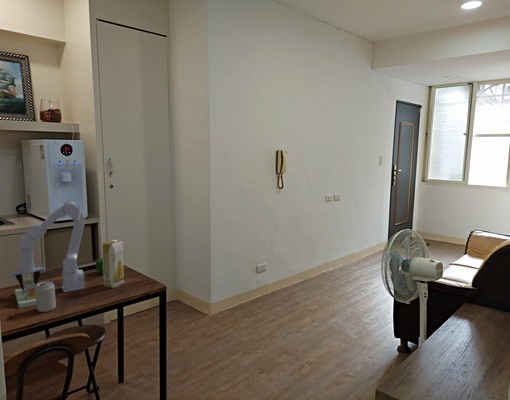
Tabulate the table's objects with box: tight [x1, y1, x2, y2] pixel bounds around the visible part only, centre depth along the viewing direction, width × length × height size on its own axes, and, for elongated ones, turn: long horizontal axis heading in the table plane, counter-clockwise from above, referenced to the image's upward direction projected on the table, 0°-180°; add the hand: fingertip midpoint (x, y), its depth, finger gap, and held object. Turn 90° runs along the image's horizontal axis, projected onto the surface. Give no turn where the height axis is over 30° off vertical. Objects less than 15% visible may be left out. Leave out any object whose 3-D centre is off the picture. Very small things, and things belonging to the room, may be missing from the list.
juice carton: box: [101, 239, 125, 289], centre depth 194 cm, size 9×8×24 cm
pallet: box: [14, 286, 37, 309], centre depth 177 cm, size 11×20×2 cm, turn 37°
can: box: [35, 280, 57, 313], centre depth 165 cm, size 8×8×12 cm
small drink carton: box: [22, 276, 34, 293], centre depth 181 cm, size 4×4×8 cm
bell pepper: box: [95, 257, 103, 275], centre depth 213 cm, size 8×8×10 cm
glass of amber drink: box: [25, 283, 36, 300], centre depth 173 cm, size 4×4×8 cm
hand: (29, 288), depth 181 cm, fingers open, 5 cm apart
